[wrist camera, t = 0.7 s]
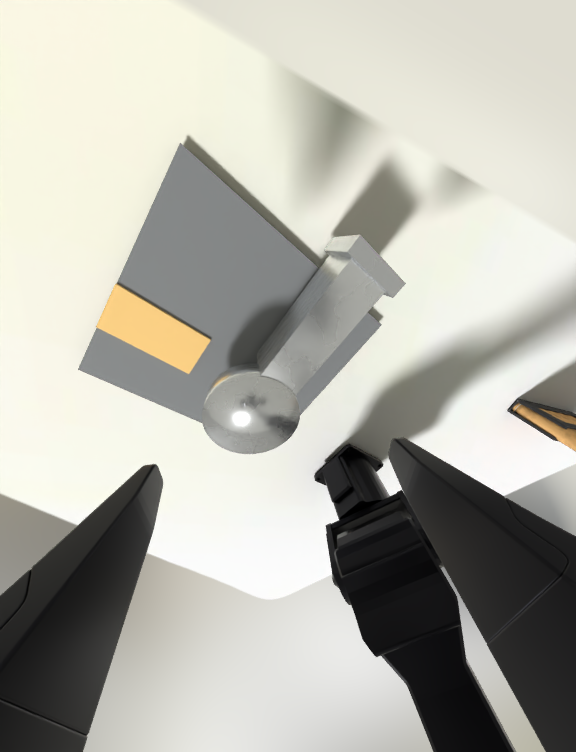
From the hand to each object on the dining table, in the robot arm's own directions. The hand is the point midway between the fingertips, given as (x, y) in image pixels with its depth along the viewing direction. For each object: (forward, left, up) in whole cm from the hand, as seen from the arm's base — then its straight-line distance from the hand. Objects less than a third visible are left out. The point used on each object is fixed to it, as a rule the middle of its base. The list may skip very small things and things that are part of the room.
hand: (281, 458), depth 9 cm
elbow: (-1, -1, -12) cm, 12 cm away
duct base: (+2, +1, -13) cm, 13 cm away
